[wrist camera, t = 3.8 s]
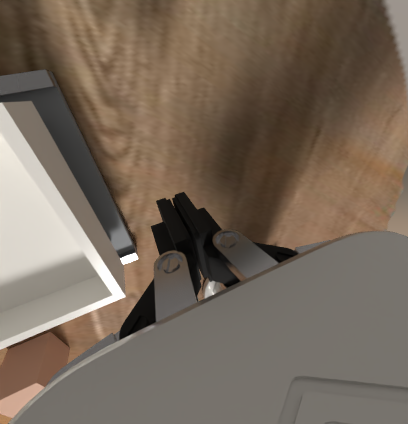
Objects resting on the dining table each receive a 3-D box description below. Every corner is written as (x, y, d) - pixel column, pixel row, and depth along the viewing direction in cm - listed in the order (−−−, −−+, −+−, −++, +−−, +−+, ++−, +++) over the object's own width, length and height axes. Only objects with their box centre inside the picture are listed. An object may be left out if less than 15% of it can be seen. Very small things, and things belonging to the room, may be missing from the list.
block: (50, 331, 27) (36, 382, 22) (69, 347, 30) (61, 396, 25) (8, 349, 26) (-17, 407, 21) (32, 364, 28) (16, 419, 24)
